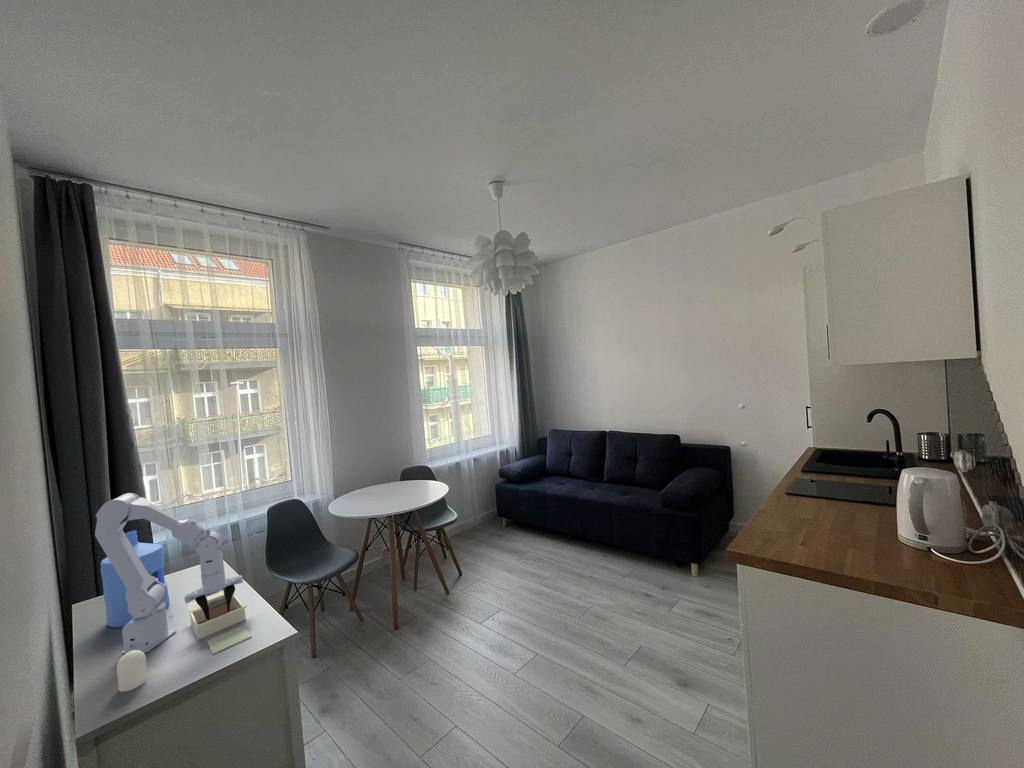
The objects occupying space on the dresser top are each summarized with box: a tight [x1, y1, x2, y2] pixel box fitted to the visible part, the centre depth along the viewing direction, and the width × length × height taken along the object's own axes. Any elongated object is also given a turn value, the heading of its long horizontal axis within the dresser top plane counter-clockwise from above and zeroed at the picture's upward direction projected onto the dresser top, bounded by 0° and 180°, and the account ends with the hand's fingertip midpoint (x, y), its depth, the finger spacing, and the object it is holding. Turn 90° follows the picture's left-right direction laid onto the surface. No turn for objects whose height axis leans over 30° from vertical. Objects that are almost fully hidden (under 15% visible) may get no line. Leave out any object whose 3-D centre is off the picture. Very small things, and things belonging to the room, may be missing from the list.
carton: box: [187, 590, 248, 641], centre depth 126 cm, size 20×12×6 cm, turn 46°
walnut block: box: [207, 595, 229, 621], centre depth 126 cm, size 4×4×7 cm
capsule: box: [116, 650, 149, 693], centre depth 101 cm, size 5×5×8 cm
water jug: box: [100, 530, 171, 628], centre depth 136 cm, size 16×16×28 cm
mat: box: [206, 624, 252, 655], centre depth 116 cm, size 9×9×1 cm
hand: (217, 614), depth 126 cm, fingers closed on walnut block, 4 cm apart
